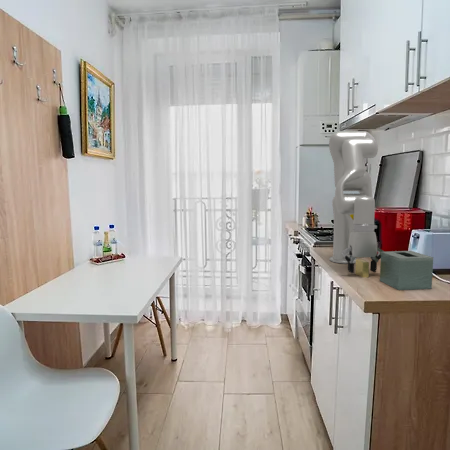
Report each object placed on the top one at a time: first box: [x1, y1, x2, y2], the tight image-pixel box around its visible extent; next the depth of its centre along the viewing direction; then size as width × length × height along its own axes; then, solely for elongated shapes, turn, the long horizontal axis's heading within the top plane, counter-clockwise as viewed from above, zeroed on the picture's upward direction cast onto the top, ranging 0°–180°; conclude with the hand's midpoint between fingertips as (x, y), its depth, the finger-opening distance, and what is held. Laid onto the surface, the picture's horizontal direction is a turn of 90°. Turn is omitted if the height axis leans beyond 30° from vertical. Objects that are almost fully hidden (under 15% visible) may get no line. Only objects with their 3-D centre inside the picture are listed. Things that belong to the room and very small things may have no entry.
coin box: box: [379, 250, 434, 291], centre depth 125 cm, size 12×12×11 cm
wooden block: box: [354, 258, 370, 279], centre depth 138 cm, size 6×2×6 cm, turn 5°
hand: (362, 271), depth 138 cm, fingers open, 8 cm apart
